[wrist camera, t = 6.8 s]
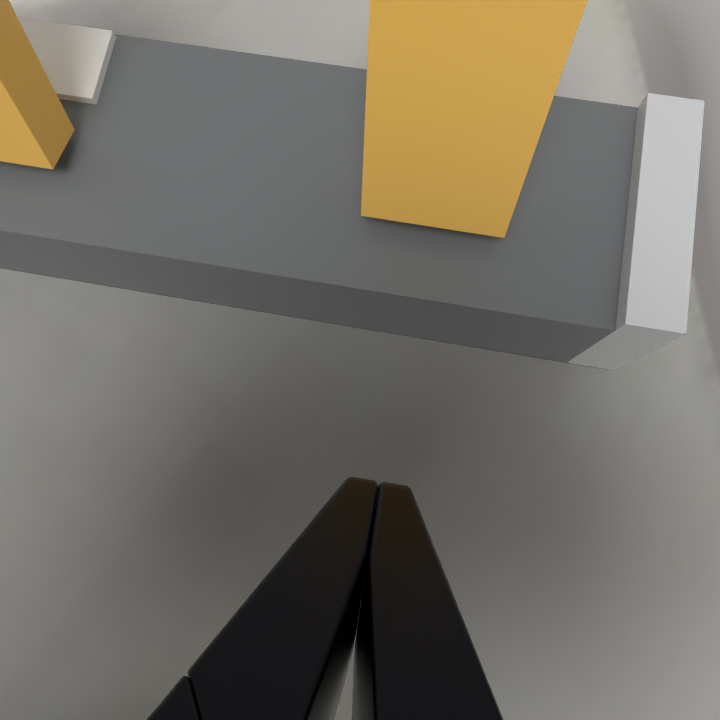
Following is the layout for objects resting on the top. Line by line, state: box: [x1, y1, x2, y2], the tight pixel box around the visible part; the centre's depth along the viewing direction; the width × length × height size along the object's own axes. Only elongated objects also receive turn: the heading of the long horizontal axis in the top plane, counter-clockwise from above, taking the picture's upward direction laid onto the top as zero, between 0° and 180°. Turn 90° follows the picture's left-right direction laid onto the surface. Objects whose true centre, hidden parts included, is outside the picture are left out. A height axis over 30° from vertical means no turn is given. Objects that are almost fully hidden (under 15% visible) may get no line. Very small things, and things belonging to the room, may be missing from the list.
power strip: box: [0, 17, 704, 370], centre depth 20 cm, size 7×26×5 cm, turn 80°
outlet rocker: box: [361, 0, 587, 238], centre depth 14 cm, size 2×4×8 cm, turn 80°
